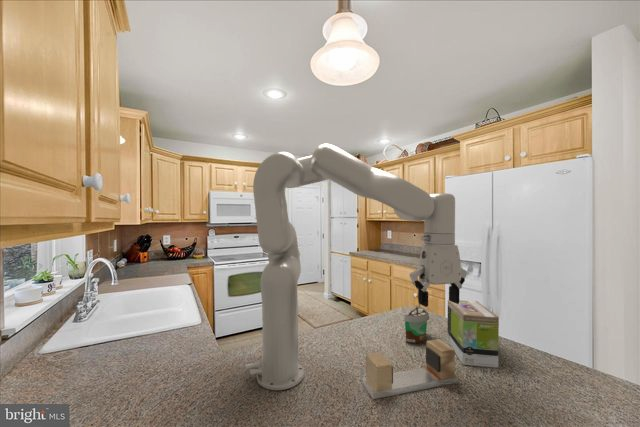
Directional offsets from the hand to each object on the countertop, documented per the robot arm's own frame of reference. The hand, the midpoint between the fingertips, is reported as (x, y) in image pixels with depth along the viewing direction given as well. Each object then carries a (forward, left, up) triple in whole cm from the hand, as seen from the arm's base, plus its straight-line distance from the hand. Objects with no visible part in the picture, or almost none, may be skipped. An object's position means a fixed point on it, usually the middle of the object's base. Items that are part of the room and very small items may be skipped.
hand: (438, 303), depth 73 cm
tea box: (+18, +8, -20) cm, 28 cm away
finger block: (0, 0, -18) cm, 18 cm away
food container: (+8, +20, -20) cm, 29 cm away
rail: (-9, 0, -20) cm, 22 cm away
